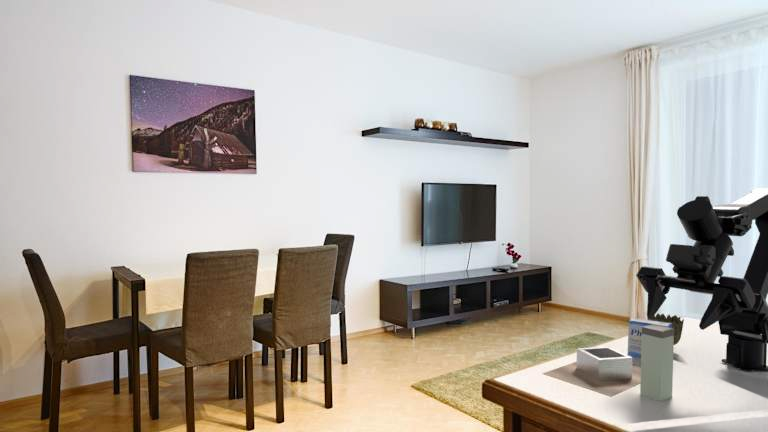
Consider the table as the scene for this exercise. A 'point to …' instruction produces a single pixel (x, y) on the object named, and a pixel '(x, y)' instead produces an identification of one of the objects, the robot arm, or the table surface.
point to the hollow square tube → (604, 363)
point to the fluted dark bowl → (676, 324)
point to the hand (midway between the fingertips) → (673, 322)
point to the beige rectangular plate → (586, 381)
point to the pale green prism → (657, 362)
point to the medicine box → (639, 334)
